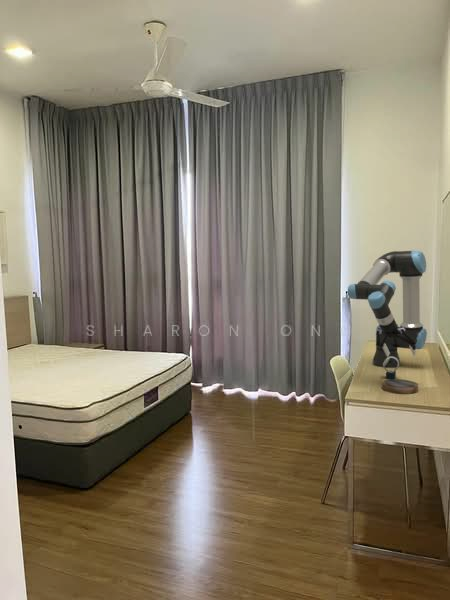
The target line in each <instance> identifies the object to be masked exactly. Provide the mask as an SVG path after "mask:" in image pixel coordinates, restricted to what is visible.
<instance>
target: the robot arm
mask: <svg viewBox="0 0 450 600" xmlns="http://www.w3.org/2000/svg"><path fill="white" fill-rule="evenodd" d="M426 272H427V261H426V256H425V254H424V253H423V251H421V250H420V251H419V250H400V251H399V250H397V251H396V250H395V251H390V252H387V253H385V254H382V255H381V256H379V257H378V258H377V259H376V260H375V261H374V262H373V265H372V267H371V268H370V269H369V270H368V271H367V272H366V273H365V275H364V276H363V277H362V278H361V279H360V280H359V281H358V283H350V284H349V285H348V286H347V296H348V298H349V299H350V300H351V299H352V300H366V301H367V302H368V304H369V305H368V306H369V307H370V308H371V311H372V313H373V314H374V317H375V319H376V321H377V324H378V326H377V327H376V329H375V330H376V331H375V345H376V346H375V352H374V356H373V358H372V365H374V366H377V367H382V368H383V363H384V361H385V360H386V358H387V357H390V356H391V357H395V358H397V359H398V361H399V367H400V366H401V363H402V362H401V358H400V356H399V355H400V354H399V353H398V349H406V350H407V349H409V350H410V351H411V354H412V355H413V357H416V355H417V350H422V349H423V347H425V345H426V344H425V343H426V341H427V334H428V331H427V329H426V328H425V327H424V325H423V324H422V323H421V316H420V315H421V314H420V313H421V312H420V308H421V305H420V304H421V303H420V299H421V298H420V294H421V293H420V290H421V289H420V288H421V287H420V279H421V277H423V274H424V273H426ZM390 273H399V277H400V278H401V279H402V323H401V324H400V326H399V324H398V323H397V322H396V320H395V317H394V315H393V313H392V311H391V308H390V307H389V304H390V302H391V300H392V299H393V296H394V295H395V293H396V287H397V286H396V285H395V283H394V282H392V281H390V280H384V281H382V282H381V280H382V279H383V278H384V277H385V276H387V275H388V274H390ZM379 282H381V283H380V284H378V283H379ZM397 365H398V362H397V360H395V359H394V358H390V359H389V361H388V363H387V364H386V365H385V368H396V367H397Z"/></svg>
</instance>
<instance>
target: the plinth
mask: <svg viewBox="0 0 450 600" xmlns="http://www.w3.org/2000/svg"><path fill="white" fill-rule="evenodd" d="M381 389H382V390H383V391H384V392H387V393H391V394H397V395H412V394H416V393H418V392H419V384H418V382H416V381H415V382H414V381H413V380H412V381H411V380H407V379H400V378H399V379H398V378H397V379H396V378H395V379H384V380H383V381H382V382H381Z"/></svg>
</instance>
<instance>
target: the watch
mask: <svg viewBox="0 0 450 600" xmlns="http://www.w3.org/2000/svg"><path fill="white" fill-rule="evenodd" d="M390 358H394V359H395V360H397V362H398V365H397V367H395V368H394V370H388V369H387V367H385V365H386V364H387V363H388V361H389V359H390ZM399 367H400V366H399V361H398V359H397V358H395V357H391V356H390V357H387V358H386V360H385V361H384V363H383V367H382V368H383V369H384V370H385V380H390V379H396V377H397V375H396V374H397V370H398V368H399Z"/></svg>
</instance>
